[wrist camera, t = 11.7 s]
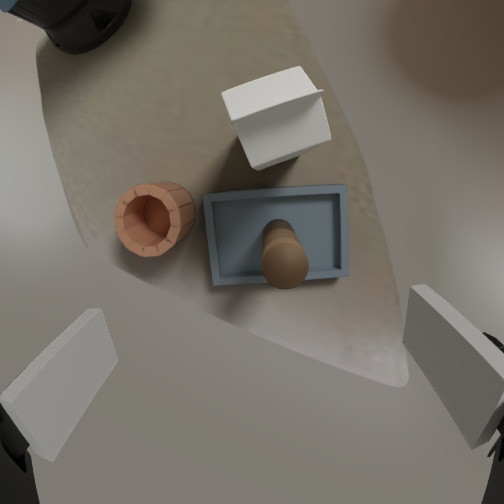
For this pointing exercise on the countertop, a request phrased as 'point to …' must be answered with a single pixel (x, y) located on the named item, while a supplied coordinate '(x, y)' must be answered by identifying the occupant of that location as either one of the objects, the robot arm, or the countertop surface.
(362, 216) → the countertop surface
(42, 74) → the countertop surface
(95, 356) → the robot arm
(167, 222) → the cup
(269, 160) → the milk
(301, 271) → the baguette
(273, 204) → the tray
